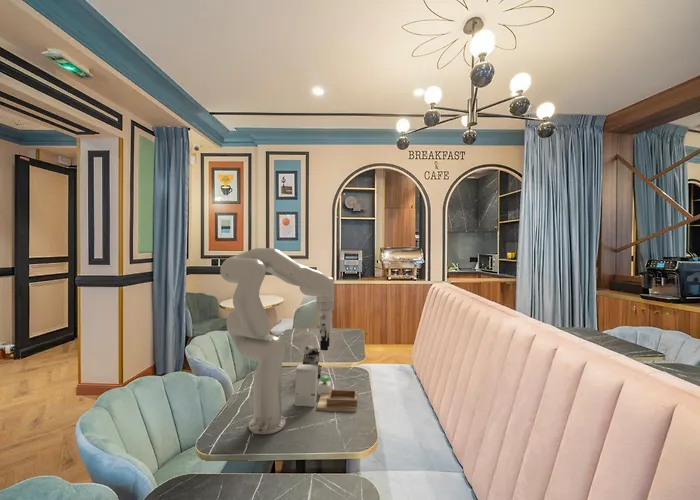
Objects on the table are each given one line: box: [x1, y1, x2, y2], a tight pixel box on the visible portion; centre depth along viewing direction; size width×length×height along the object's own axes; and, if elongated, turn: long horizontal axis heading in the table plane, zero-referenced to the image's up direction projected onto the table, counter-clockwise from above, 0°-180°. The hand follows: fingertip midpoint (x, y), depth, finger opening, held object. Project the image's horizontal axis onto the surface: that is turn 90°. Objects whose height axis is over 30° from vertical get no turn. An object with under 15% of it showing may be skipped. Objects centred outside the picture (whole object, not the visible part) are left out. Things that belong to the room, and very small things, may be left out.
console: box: [317, 380, 332, 396], centre depth 150 cm, size 5×5×4 cm
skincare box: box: [294, 363, 319, 408], centre depth 140 cm, size 8×6×15 cm
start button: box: [320, 375, 330, 384], centre depth 150 cm, size 4×4×5 cm
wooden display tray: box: [316, 388, 359, 412], centre depth 140 cm, size 13×15×4 cm
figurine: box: [302, 344, 322, 378], centre depth 167 cm, size 9×12×15 cm
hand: (324, 347), depth 150 cm, fingers open, 4 cm apart
